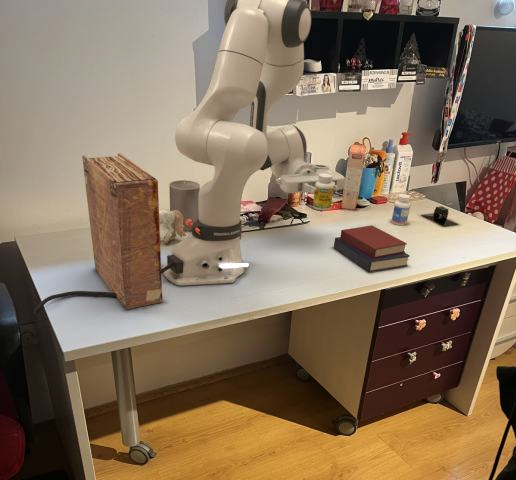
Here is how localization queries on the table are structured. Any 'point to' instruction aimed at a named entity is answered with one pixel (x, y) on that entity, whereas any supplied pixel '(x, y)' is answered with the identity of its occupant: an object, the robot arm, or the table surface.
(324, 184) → the supplement bottle
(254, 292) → the table surface
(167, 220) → the unicorn figurine
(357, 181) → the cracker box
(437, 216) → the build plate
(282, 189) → the robot arm
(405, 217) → the pill bottle
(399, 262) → the book stack
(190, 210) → the pillar candle
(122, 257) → the book
